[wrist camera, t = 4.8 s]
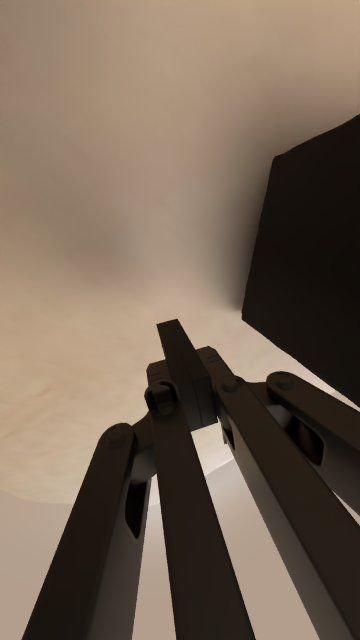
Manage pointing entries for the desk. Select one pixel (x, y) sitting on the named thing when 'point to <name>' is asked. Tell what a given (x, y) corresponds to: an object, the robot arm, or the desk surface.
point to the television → (312, 258)
